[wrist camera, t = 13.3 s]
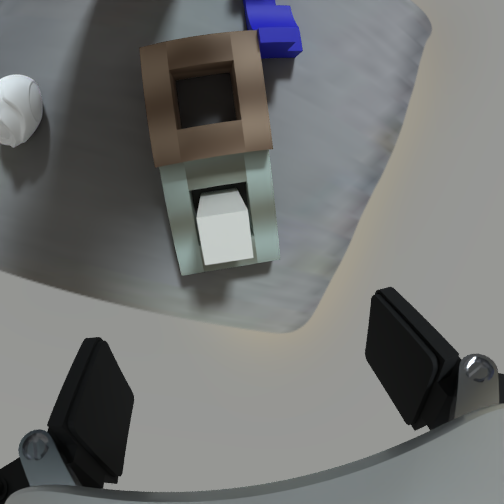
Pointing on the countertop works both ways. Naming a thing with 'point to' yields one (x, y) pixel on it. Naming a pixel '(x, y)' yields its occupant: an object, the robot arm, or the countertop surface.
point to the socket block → (211, 140)
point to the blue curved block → (273, 28)
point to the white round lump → (19, 109)
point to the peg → (224, 227)
